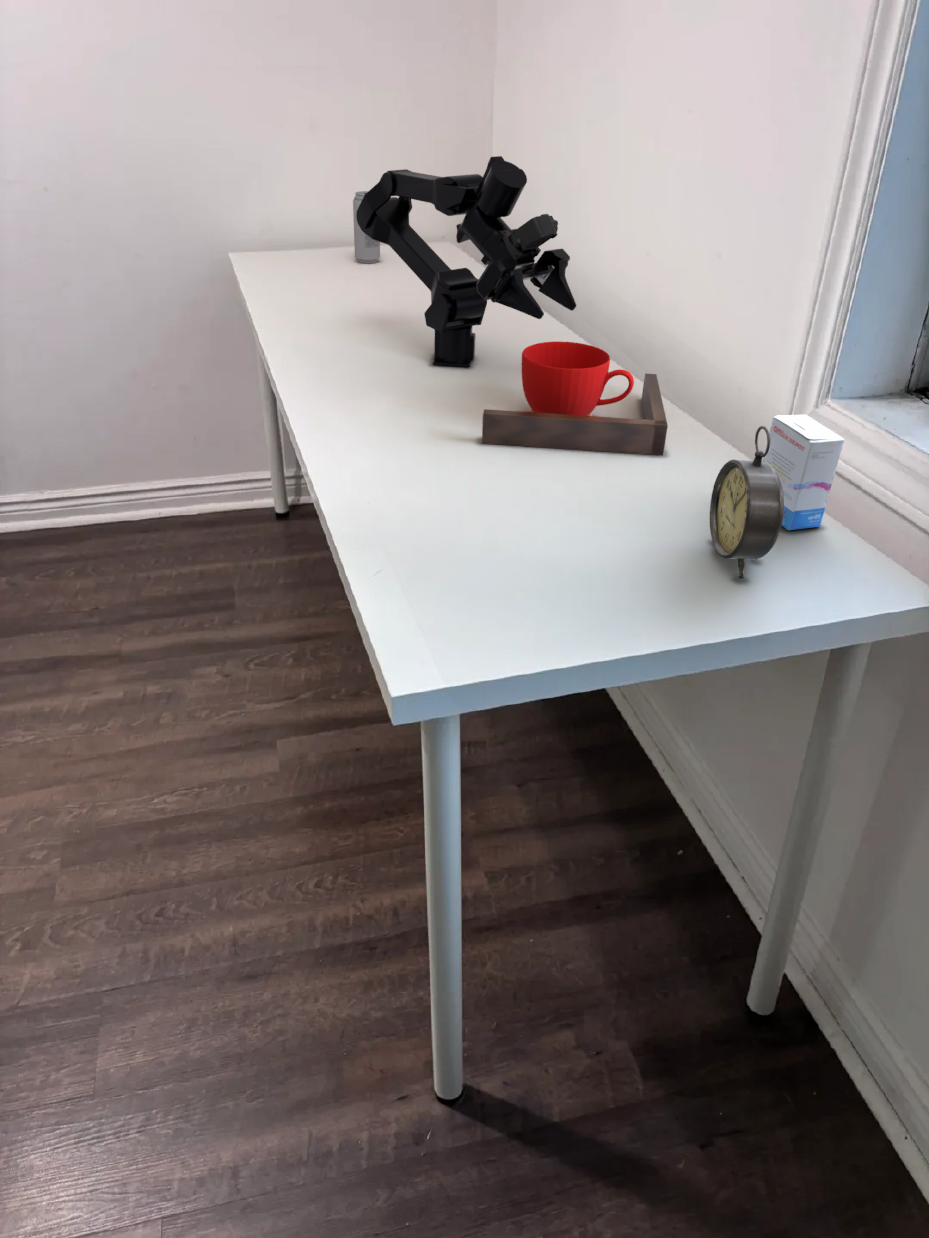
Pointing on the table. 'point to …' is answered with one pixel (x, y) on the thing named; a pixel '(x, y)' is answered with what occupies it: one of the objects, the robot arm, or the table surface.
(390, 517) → the table surface
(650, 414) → the corner guide
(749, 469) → the alarm clock
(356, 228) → the energy drink can
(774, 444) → the ink box
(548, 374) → the ceramic cup
